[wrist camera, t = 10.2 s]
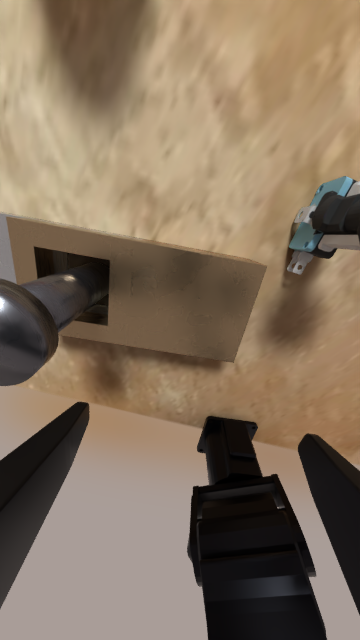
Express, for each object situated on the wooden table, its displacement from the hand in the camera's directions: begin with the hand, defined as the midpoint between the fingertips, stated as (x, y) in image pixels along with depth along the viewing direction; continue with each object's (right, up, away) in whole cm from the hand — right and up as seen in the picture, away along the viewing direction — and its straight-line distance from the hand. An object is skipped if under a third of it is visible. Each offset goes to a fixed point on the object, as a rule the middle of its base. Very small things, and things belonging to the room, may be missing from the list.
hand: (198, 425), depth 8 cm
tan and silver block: (-8, +8, +10) cm, 15 cm away
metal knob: (-8, +8, +10) cm, 15 cm away
